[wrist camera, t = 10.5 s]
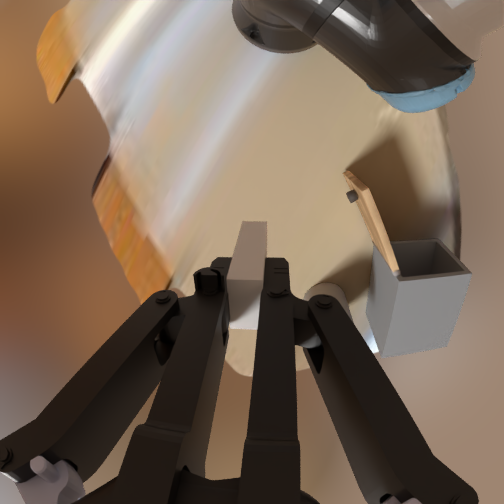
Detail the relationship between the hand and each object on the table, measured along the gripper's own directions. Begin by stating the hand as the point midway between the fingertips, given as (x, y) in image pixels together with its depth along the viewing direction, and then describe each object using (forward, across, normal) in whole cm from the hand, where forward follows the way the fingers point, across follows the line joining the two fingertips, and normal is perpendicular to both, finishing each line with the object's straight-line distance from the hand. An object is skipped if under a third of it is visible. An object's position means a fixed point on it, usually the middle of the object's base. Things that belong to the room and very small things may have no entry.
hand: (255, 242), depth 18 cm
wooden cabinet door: (+29, +15, -7) cm, 33 cm away
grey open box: (+29, +27, -21) cm, 45 cm away
